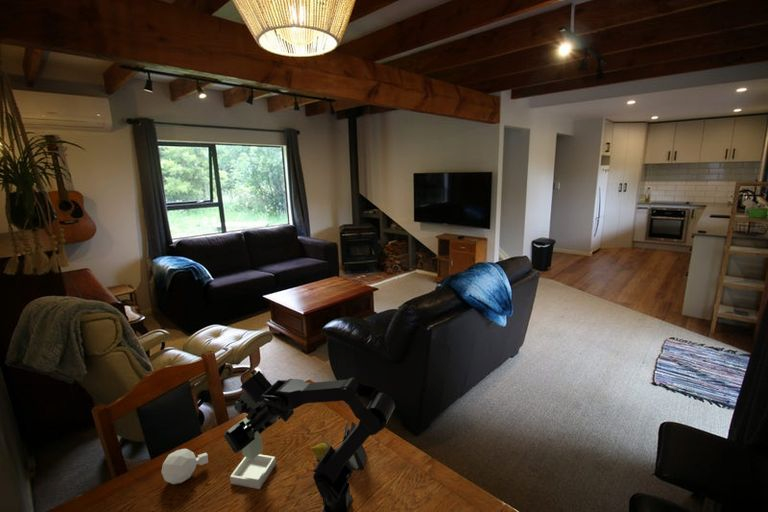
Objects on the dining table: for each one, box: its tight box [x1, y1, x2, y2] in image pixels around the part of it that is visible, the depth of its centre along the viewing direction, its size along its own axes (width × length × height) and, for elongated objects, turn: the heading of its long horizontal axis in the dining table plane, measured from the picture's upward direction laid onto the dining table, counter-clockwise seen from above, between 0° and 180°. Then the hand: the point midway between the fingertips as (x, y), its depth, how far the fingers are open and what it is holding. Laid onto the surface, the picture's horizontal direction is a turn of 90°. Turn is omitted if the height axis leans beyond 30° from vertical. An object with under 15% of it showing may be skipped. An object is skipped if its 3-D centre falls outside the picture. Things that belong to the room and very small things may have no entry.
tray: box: [229, 453, 277, 490], centre depth 109 cm, size 9×9×3 cm
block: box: [237, 417, 263, 460], centre depth 107 cm, size 4×4×11 cm
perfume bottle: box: [161, 448, 209, 485], centre depth 108 cm, size 9×9×12 cm
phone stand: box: [340, 421, 367, 471], centre depth 111 cm, size 9×6×12 cm, turn 88°
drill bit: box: [309, 441, 331, 462], centre depth 113 cm, size 5×5×10 cm
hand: (247, 432), depth 107 cm, fingers closed on block, 4 cm apart
